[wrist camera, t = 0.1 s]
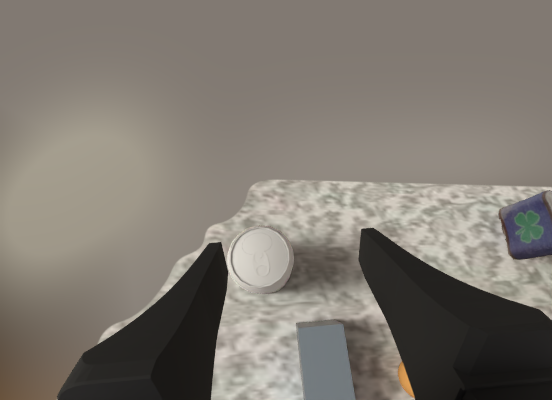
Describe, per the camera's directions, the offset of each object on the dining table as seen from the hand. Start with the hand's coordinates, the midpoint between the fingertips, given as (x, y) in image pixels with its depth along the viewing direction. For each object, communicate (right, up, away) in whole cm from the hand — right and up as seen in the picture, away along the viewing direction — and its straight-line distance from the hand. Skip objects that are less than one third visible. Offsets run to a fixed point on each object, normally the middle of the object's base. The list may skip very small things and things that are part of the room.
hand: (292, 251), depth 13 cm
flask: (+40, -3, +32) cm, 51 cm away
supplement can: (-2, -9, +31) cm, 32 cm away
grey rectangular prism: (+6, -22, +25) cm, 35 cm away
